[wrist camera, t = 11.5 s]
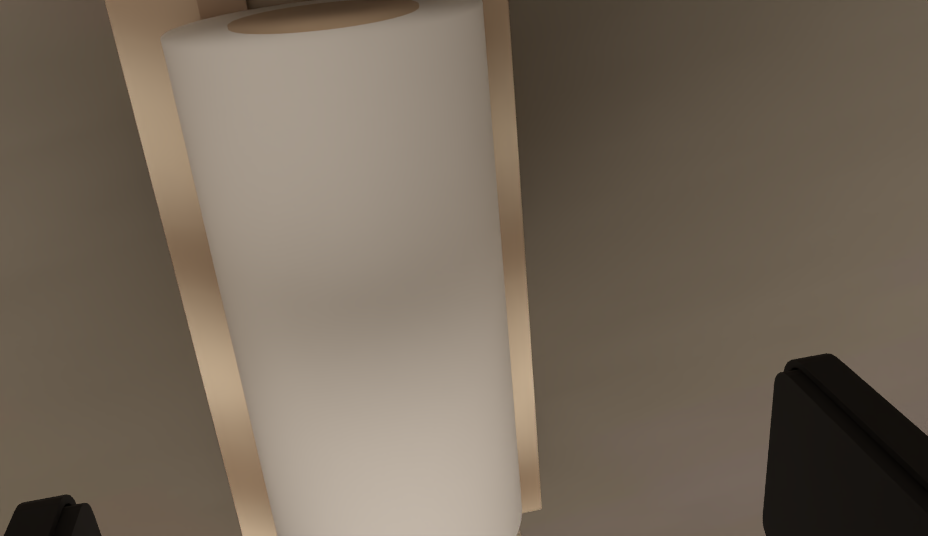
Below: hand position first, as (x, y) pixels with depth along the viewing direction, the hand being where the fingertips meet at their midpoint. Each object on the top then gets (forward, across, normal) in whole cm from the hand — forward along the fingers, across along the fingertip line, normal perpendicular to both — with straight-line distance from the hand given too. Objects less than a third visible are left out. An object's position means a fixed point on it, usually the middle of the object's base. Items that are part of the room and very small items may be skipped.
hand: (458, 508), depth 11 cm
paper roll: (+11, +1, +1) cm, 11 cm away
